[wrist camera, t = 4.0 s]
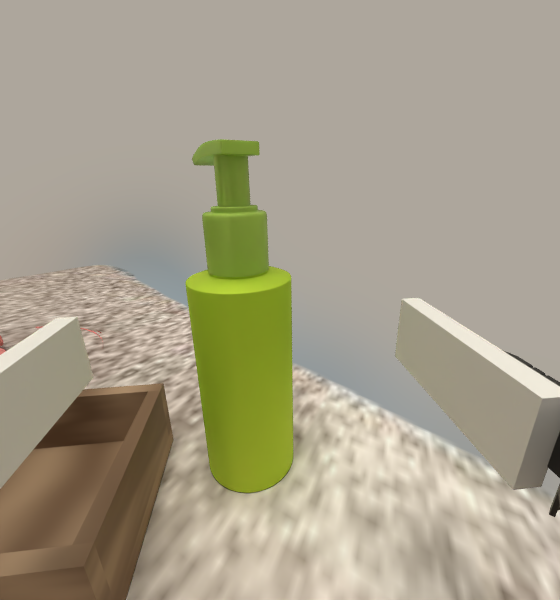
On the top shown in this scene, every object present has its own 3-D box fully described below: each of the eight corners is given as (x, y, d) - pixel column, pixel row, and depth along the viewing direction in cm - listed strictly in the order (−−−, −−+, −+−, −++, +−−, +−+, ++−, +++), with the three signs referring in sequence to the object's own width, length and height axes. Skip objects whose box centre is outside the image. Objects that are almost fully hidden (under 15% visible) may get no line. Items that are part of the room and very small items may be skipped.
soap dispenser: (264, 408, 26) (251, 151, 20) (309, 467, 21) (313, 133, 14) (196, 434, 24) (154, 148, 17) (226, 510, 18) (181, 124, 11)
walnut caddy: (-191, 688, 12) (-274, 611, 10) (15, 453, 22) (-8, 396, 21) (112, 643, 13) (83, 566, 11) (173, 439, 23) (163, 383, 22)
